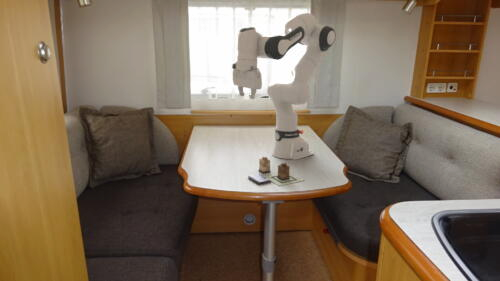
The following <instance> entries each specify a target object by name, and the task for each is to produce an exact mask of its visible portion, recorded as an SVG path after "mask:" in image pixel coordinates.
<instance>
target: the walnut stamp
mask: <svg viewBox="0 0 500 281" xmlns="http://www.w3.org/2000/svg"><path fill="white" fill-rule="evenodd" d="M290 169H291V168H290V165H288V164H287V162H281V164H278V165H277V174H278V176H277V178H278V179H280V180H282V181H284V180H288V179H290V177H289V173H290Z"/></svg>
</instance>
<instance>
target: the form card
mask: <svg viewBox="0 0 500 281" xmlns="http://www.w3.org/2000/svg"><path fill="white" fill-rule="evenodd" d="M277 176H278V173H276V174H275V173H274V174H270V175H266V176H264V177H266V178H268V179H269V180H271V182H272V183H273V184H274V185H276V186H278V187H281V186H286V185H291V184H296V183H300V182H304V181H305V180H304V179H302V178H300V177H298V176H296V175H295V174H293V173H291V172H289V177H290V179H288V180H284V181H282V180H280V179H278V178H277Z"/></svg>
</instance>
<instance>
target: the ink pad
mask: <svg viewBox="0 0 500 281" xmlns="http://www.w3.org/2000/svg"><path fill="white" fill-rule="evenodd" d="M247 178H248V179H249V180H250V181H252V182H253V183H255V184H256V185H258V186H262V185H266V184H271V182H272V181H271V180H269V179H268V178H266V177H265V176H264V175H263V174H262V173H258V174H253V175H248V177H247Z"/></svg>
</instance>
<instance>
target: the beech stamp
mask: <svg viewBox="0 0 500 281" xmlns="http://www.w3.org/2000/svg"><path fill="white" fill-rule="evenodd" d="M258 172H260V174H262V175H263V174H267V173H268V174H269V173H271V159H269V157H268V156H262V158H259V165H258Z"/></svg>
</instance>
